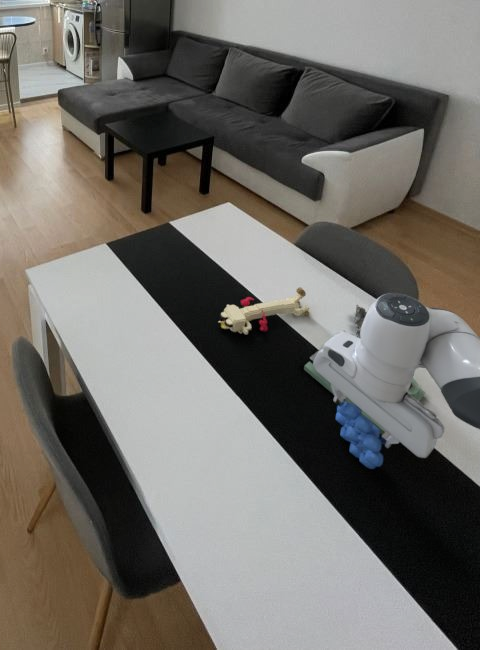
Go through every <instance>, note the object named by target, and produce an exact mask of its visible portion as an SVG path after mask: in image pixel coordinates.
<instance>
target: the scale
mask: <svg viewBox="0 0 480 650" xmlns="http://www.w3.org/2000/svg"><path fill="white" fill-rule="evenodd" d="M303 370H304V371H305V372H306V373H307V374H309V376H311V377H312V378H313V379H314V380H316V381H317V382H318V383H319V384H320V385H322V386H323V387H324V388H325V389H326V390H328V391H329V392H330V393H331V394H333V391H332V388H331V383H330V382H328V381H327V380H326V379H325V378H324V377H322V376H321V375H320V374H319V373H318V372H316V370H315V368H314V366H313V364H312V363H311V362H309V361H308V362H307V363H306V364H304V367H303ZM407 392H408V394H410V395H411V396H412V397H414V398H415V399H416V400H418V401H419V402H420V401H421V400H422V399H423V398H424V397H425V395H426V391H425V390H423V389H422V388H420V387H419V383H418V382H417V380H416V379H415V378H414V377H413V380H412V383H411V386H410V388H409V389H408V391H407ZM343 395H344V394H343ZM345 402H347V403H352V404H354V403H353V402H352V401H351V400H350V399H348V398H346V400H345ZM355 405H356V404H355ZM356 406H357V405H356ZM357 407H358V406H357ZM361 415H362V416H364V417H366V418H367V419H369V420H370V421H371V422H372V423H373V425H375V426H376V427H377V428H378V429H380V435H381V436H382V435H383V434H384V433H385V432H386V430H385V429H384V428H383V427H382V426H380V425H379V424H378V423H377V422H376V421H375V420H373V419H372V418H371V417H370V416H369V415H367V414H366V413H365V412H364V411H363V410H362V409H361ZM387 432H388V431H387ZM388 433H389V432H388Z"/></svg>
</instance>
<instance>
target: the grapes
mask: <svg viewBox="0 0 480 650" xmlns="http://www.w3.org/2000/svg"><path fill="white" fill-rule="evenodd" d="M335 421H336V422H337V423H339V424H340V425H341V428H340V433H339V434H340V435H339V436H340V437H341V438H342V439H344V441H347V442H348V443H350V445H349V450H348V451H349V453H350V454H351V455H352V456H354V457H355V458H357V459H359V462H360V464H362V465H363V466H364V467H366V468H368V469H369V470H374V469H376V468H379V467H382V465H383V463H384V455H383V454H382V453H381V452H380V451H381V450H382V445H383V444H382V443H381V440H380V437H381V434H380V429H378V428H377V427H376V426H375V425H373V423H372V422H371V421H370V420H369V419H367V418H366V417H364V416H362V415H361V409H360V408H359V407H357V406H356V405H355V404H352V403H347V402H345V403H344V404H343V405H342V406H341V407H340V406H339V405H338V404H337V406H336V414H335Z"/></svg>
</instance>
